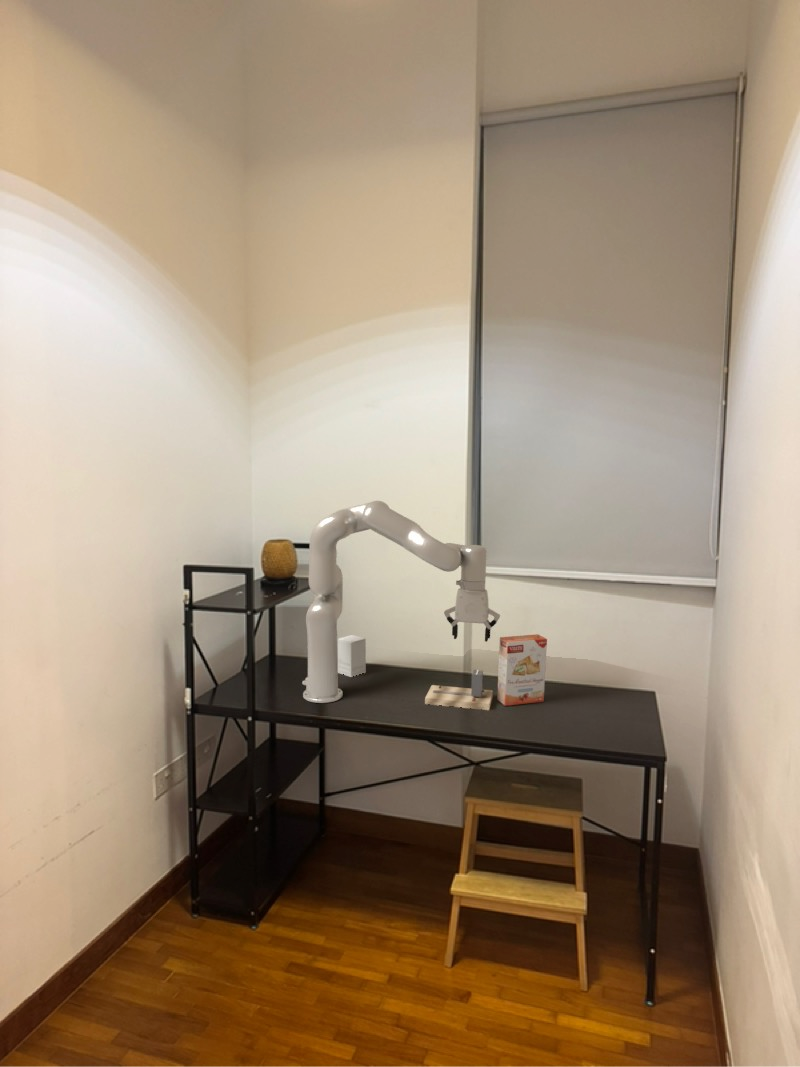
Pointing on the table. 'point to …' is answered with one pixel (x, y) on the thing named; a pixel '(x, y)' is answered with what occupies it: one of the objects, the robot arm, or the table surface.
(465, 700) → the board
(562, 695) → the table surface
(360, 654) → the supplement box
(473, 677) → the fader tab
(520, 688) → the cracker box
